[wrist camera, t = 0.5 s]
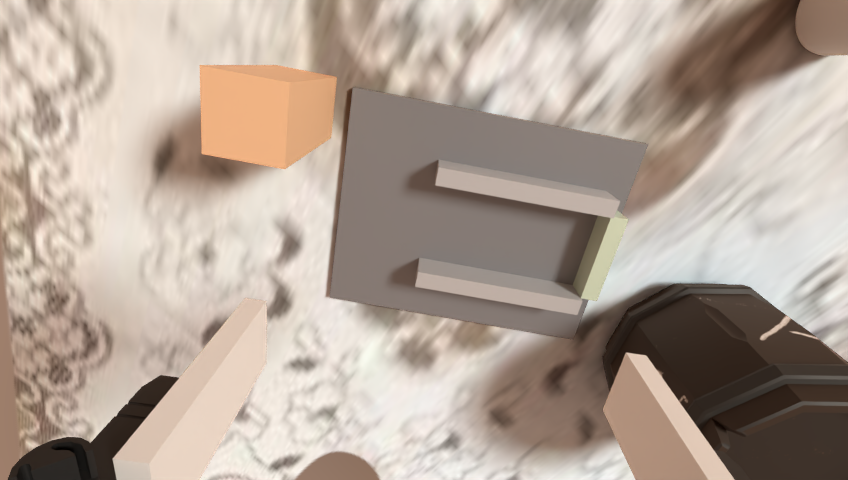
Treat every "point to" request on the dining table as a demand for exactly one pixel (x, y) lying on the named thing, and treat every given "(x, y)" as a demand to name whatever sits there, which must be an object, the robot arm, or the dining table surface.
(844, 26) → the beverage can
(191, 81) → the dining table surface
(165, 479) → the robot arm
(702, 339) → the wooden barrel
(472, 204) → the end holder
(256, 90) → the block
